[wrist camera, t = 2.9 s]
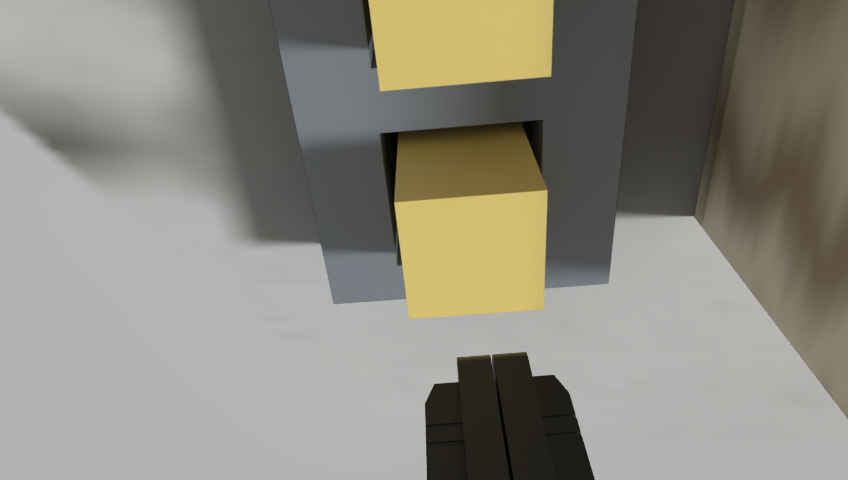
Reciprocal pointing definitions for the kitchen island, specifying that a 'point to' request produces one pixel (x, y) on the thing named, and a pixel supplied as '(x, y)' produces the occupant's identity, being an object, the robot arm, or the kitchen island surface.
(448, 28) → the button mid
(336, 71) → the board
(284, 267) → the kitchen island surface
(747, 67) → the card
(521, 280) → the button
